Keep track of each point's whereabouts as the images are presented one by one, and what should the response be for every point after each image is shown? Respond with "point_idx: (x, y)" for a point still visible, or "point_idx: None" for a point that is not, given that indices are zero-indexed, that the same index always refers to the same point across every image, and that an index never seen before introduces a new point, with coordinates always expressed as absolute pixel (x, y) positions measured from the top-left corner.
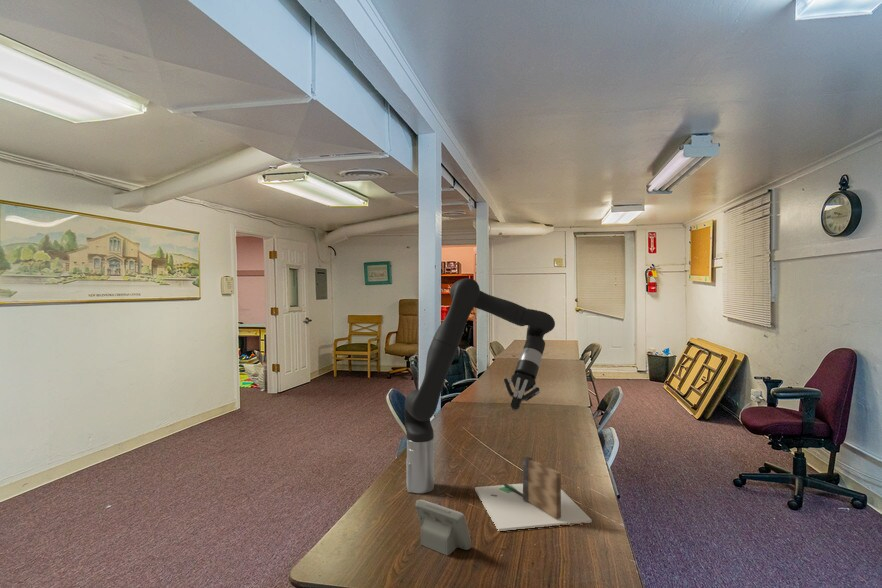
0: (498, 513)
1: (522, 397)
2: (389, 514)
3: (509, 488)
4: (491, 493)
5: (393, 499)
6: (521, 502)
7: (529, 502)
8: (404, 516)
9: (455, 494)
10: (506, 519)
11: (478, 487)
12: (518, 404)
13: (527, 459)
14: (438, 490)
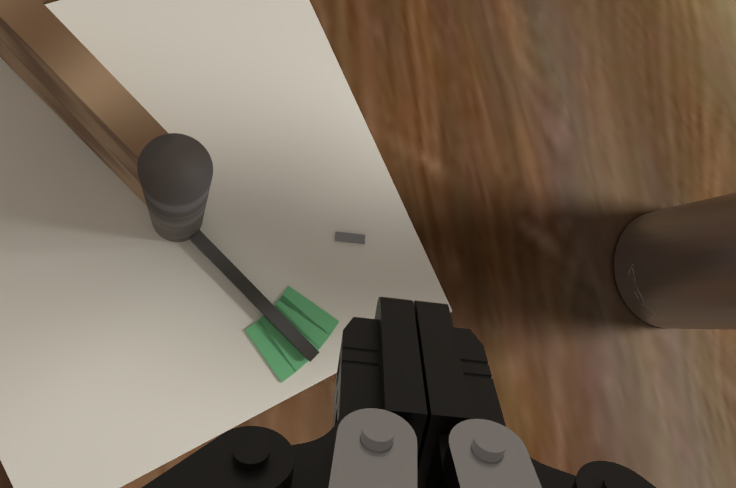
0: (300, 64)
1: (323, 463)
2: (677, 29)
3: (285, 317)
4: (365, 260)
5: (711, 145)
6: (208, 195)
7: None
8: (628, 22)
9: (515, 244)
10: (259, 17)
11: None
12: (360, 352)
13: (175, 147)
14: (590, 266)
